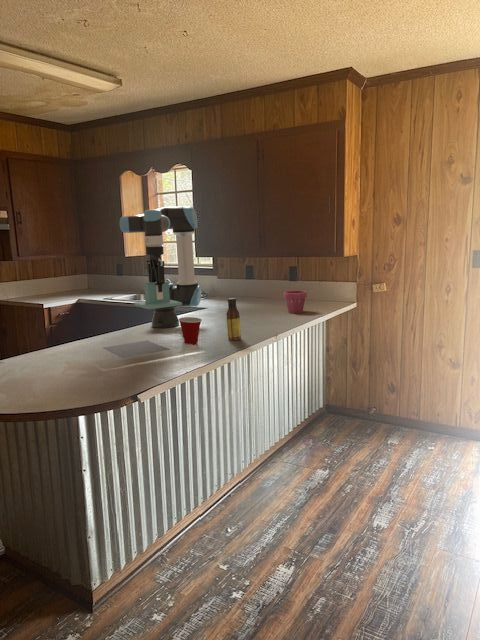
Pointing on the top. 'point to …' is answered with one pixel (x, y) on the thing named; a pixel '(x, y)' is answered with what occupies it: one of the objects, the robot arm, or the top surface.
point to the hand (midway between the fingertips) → (157, 298)
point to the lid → (151, 297)
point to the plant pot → (295, 300)
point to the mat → (135, 348)
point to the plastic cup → (190, 329)
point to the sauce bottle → (233, 320)
